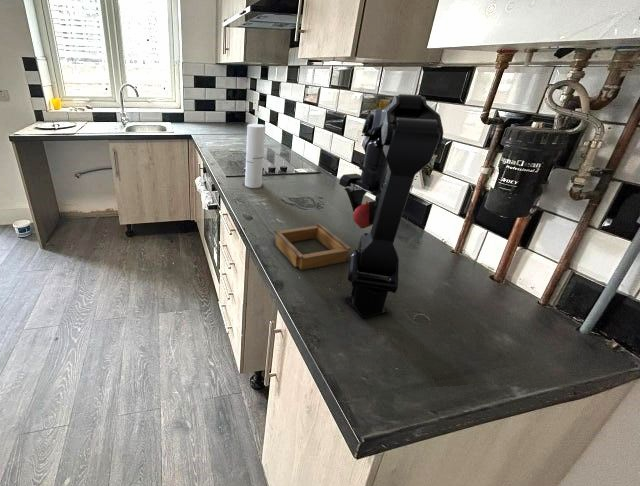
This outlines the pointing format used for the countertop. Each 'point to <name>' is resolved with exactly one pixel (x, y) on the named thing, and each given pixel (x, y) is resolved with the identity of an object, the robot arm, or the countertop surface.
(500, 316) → the countertop surface
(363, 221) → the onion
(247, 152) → the cylindrical container
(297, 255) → the square wooden frame
